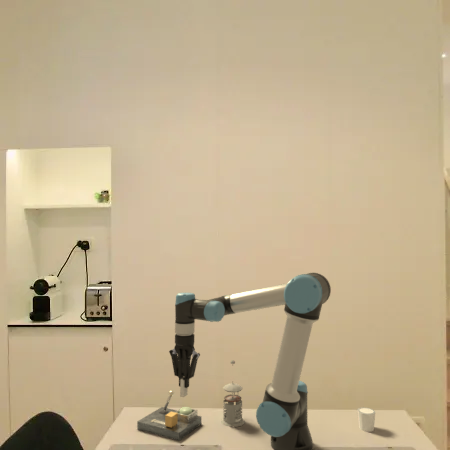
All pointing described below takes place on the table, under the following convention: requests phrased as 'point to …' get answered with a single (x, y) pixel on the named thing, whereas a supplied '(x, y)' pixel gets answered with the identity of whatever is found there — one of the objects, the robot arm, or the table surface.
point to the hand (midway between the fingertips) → (183, 395)
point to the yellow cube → (171, 419)
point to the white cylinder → (366, 419)
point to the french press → (232, 406)
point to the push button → (186, 410)
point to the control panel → (157, 426)
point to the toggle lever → (168, 399)
